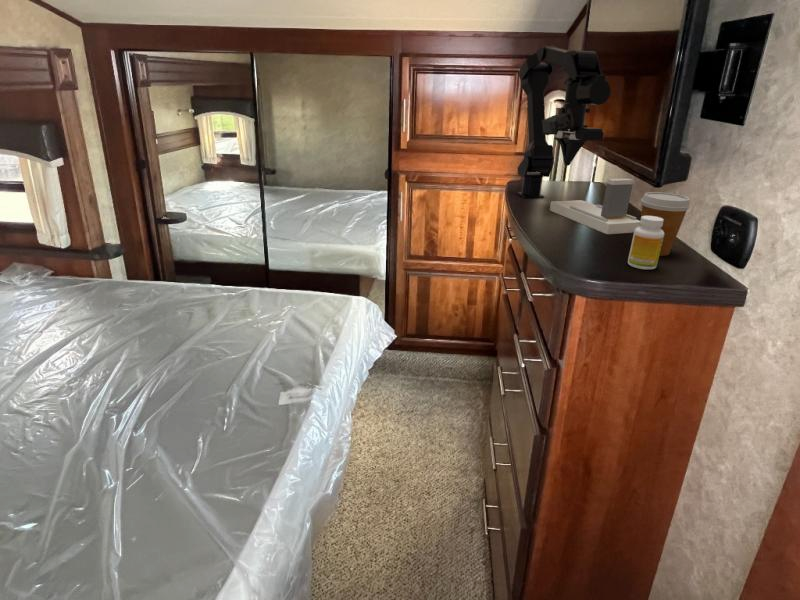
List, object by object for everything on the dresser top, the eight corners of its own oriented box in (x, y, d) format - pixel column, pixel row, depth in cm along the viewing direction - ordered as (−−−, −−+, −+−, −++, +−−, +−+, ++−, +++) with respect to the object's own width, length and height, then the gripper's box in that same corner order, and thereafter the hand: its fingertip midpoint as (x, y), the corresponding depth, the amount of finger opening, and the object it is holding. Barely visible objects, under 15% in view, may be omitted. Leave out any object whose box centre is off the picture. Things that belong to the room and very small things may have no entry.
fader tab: (600, 215, 128) (607, 179, 125) (620, 214, 130) (627, 178, 127) (606, 217, 127) (613, 180, 123) (625, 216, 129) (633, 179, 125)
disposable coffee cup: (621, 248, 114) (633, 194, 109) (645, 242, 119) (657, 190, 114) (663, 261, 107) (677, 203, 102) (686, 253, 112) (701, 198, 107)
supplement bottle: (659, 271, 101) (671, 222, 97) (630, 268, 102) (640, 220, 98) (652, 262, 106) (664, 215, 102) (624, 260, 107) (634, 213, 103)
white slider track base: (549, 210, 145) (551, 199, 144) (579, 208, 148) (581, 198, 147) (607, 234, 124) (609, 221, 123) (640, 231, 127) (643, 219, 126)
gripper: (529, 102, 140) (522, 161, 146) (573, 104, 124) (563, 170, 130) (563, 103, 144) (555, 160, 150) (610, 105, 128) (599, 169, 134)
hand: (566, 165), depth 141 cm, fingers closed
